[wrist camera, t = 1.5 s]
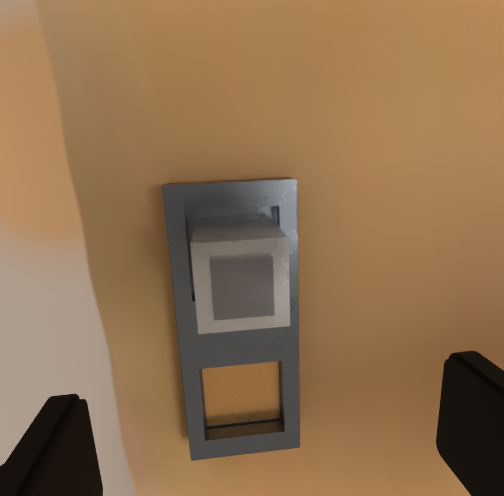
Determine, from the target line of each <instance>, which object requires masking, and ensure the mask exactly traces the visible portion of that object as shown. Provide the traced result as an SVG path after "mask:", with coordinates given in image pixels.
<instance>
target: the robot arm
mask: <svg viewBox="0 0 504 496" xmlns="http://www.w3.org/2000/svg"><path fill="white" fill-rule="evenodd" d="M436 445H437V449H438V452H439V454H440V455H441V457H442V458H443V460H444V461H445V462H446V464H447V465H448V466H449V467H450V469H451V470H452V471H453V473H454V474H455V475H456V476H457V478H458V479H459V480H460V481H461V483H462V484H463V485H464V487H465V488H466V489H467V490H468V492H469V493H470V494H471V496H504V371H503V370H502V369H500V368H499V367H498V366H496V365H495V364H493V363H492V362H491V361H489V360H488V359H486V358H485V357H484V356H482V355H481V354H480V353H478V352H476V351H466V352H456V353H452V354H451V355H450V356H449V359H447V360H446V361H445V363H444V371H443V380H442V390H441V399H440V409H439V419H438V428H437V438H436ZM0 496H103V487H102V481H101V475H100V470H99V465H98V459H97V454H96V448H95V443H94V437H93V432H92V427H91V421H90V416H89V410H88V405H87V402H86V400H85V399H79V396H78V395H77V394H69V395H59V396H52V397H50V398H49V399H48V400H47V401H46V403H45V404H44V406H43V407H42V409H41V410H40V412H39V413H38V415H37V416H36V418H35V419H34V420H33V422H32V423H31V425H30V427H29V428H28V429H27V431H26V432H25V434H24V435H23V437H22V438H21V440H20V441H19V443H18V444H17V446H16V447H15V449H14V450H13V452H12V453H11V455H10V456H9V458H8V459H7V461H6V462H5V463H4V464H3V465H1V466H0Z"/></svg>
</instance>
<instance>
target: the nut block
mask: <svg viewBox="0 0 504 496" xmlns="http://www.w3.org/2000/svg"><path fill="white" fill-rule="evenodd" d="M190 246H191V257H192V269H193V280H194V291H195V302H196V314H197V325H198V334H207V333H218V332H229V331H240V330H251V329H263V328H274V327H285V326H290V295H289V238H288V236H287V235H286V234H285V233H284V232H283V231H282V230H281V229H280V228H279V227H278V226H277V225H276V224H275V223H274V222H273V221H272V220H271V219H270V218H269V217H268V216H267V215H266V214H259V215H243V216H226V217H209V218H197V221H196V224H195V228H194V232H193V236H192V239H191V243H190Z"/></svg>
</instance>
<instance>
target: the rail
mask: <svg viewBox="0 0 504 496" xmlns="http://www.w3.org/2000/svg"><path fill="white" fill-rule="evenodd" d="M162 187H163V197H164V206H165V216H166V225H167V235H168V245H169V254H170V264H171V273H172V283H173V293H174V302H175V312H176V321H177V331H178V341H179V350H180V360H181V369H182V379H183V388H184V398H185V408H186V417H187V427H188V436H189V446H190V456H191V461H193V460H201V459H209V458H217V457H225V456H234V455H242V454H250V453H258V452H266V451H274V450H283V449H291V448H299V447H300V402H299V311H298V221H297V179H294V178H290V177H288V178H268V179H248V180H227V181H207V182H187V183H167V184H165V185H163V186H162ZM259 214H266V215H267V216H268V217H269V218H270V219H271V220H272V221H273V222H274V223H275V224H276V225H277V226H278V227H279V228H280V229H281V230H282V231H283V232H284V233H285V234H286V235H287V236H288V238H289V295H290V326H285V327H274V328H263V329H251V330H240V331H229V332H218V333H207V334H198V325H197V314H196V302H195V291H194V280H193V269H192V257H191V246H190V243H191V239H192V236H193V232H194V228H195V224H196V221H197V218H209V217H226V216H243V215H259Z"/></svg>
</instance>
